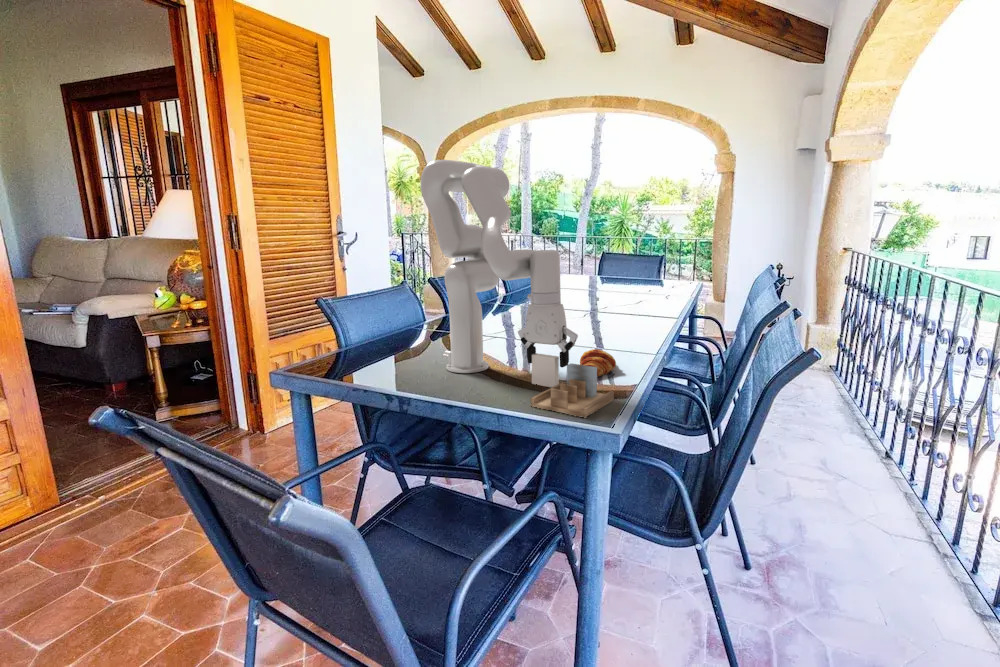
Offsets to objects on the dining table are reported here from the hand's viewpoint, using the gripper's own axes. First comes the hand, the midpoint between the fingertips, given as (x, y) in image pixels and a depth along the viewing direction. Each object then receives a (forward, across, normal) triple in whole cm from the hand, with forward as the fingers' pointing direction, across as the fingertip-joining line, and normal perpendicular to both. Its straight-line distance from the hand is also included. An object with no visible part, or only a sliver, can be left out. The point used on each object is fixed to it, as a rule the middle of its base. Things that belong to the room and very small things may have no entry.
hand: (547, 364), depth 136 cm
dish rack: (+6, +12, -9) cm, 16 cm away
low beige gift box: (+6, -1, 0) cm, 6 cm away
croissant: (+6, +5, +20) cm, 22 cm away
